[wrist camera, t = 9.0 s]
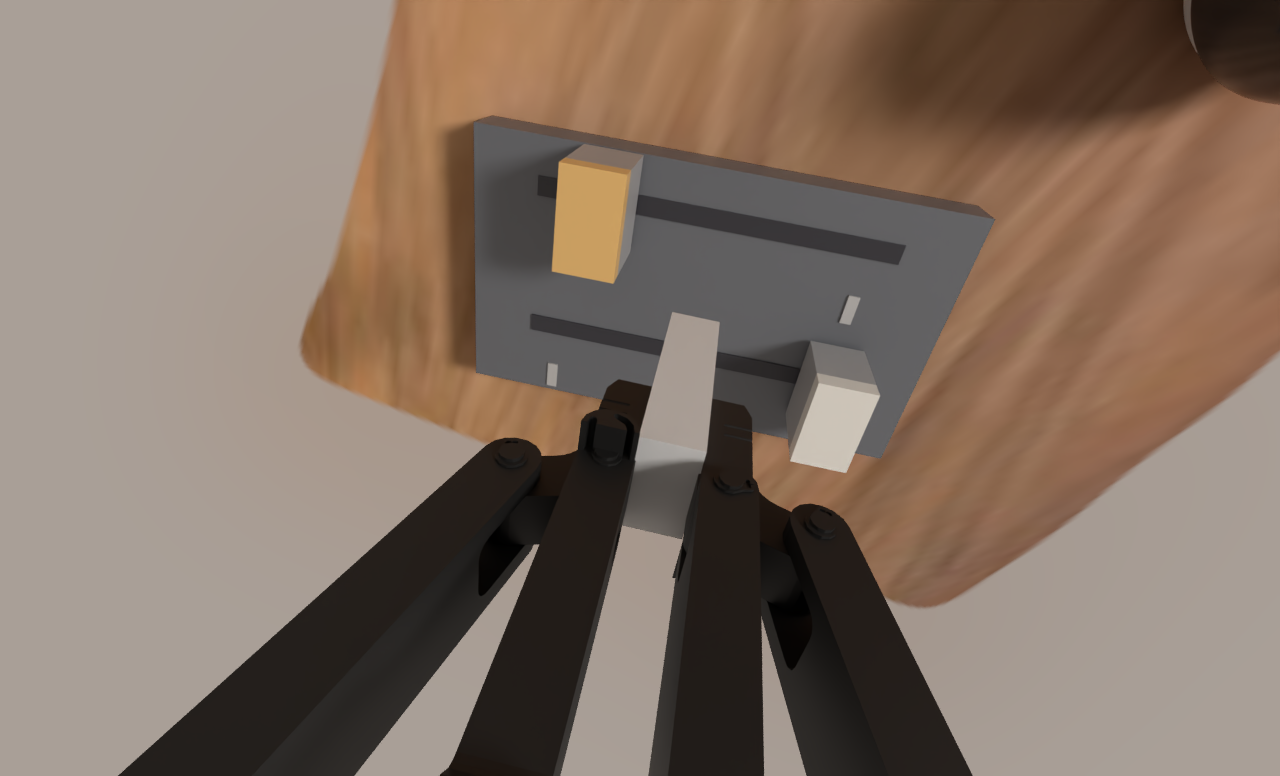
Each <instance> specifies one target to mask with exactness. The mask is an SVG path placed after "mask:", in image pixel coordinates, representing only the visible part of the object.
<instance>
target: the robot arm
mask: <svg viewBox="0 0 1280 776" xmlns="http://www.w3.org/2000/svg"><path fill="white" fill-rule="evenodd" d="M719 325H720V322H717V321H712V320H707V319H703V318H698V317H693V316H689V315H684V314H679V313H675V312H672V315H671V319H670V323H669V326H668V330H667V334H666V337H665V341H664V345H663V349H662V352H661V356H660V360H659V363H658V367H657V371H656V375H655V378H654V382H653V386H648V385H643V384H639V383H634V382H629V381H625V380H620V379H618V380H616V381H615V382H614V383H612V384H611V385H610V386H608V387H607V389H606V392H605V394H604V397H603V400H602V402H601V404H600V407H599V409H598V410H595V411H593V412H591V413H588V414H586V416H585V417H584V418H583V419H582V420H581V428H580V436H579V444H578V450H577V451H574V452H572V453H570V454H566V455H559V456H541V452H540V451H539V449H538V448H537V446H536V445H534V444H532V443H531V442H529V441H527V440H523V439H519V438H503V439H499V440H495V441H493V442H491V443H490V444H488V445H486V446H485V447H484V448H483V449H482V450H481V451H479V452H478V453H477V454H476V455H475V456H474V457H473V458H472V459H470V460H469V461H468V462H467V463H466V464H465V465H464V466H463V467H462V468H461V469H459V470H458V471H457V472H456V473H455V474H454V475H453V476H452V477H451V478H449V479H448V480H447V481H446V482H445V483H444V484H443V485H442V486H440V487H439V488H438V489H437V490H436V491H435V492H434V493H433V494H431V495H430V496H429V497H428V498H427V499H426V500H425V501H424V502H423V503H422V504H420V505H419V506H418V507H417V508H416V509H415V510H414V511H413V512H411V513H410V514H409V515H408V516H407V517H406V518H405V519H404V520H403V521H401V522H400V523H399V524H398V525H397V526H396V527H395V528H394V529H393V530H391V531H390V532H389V533H388V534H387V535H386V536H385V537H384V538H382V539H381V540H380V541H379V542H378V543H377V544H376V545H375V546H374V547H372V548H371V549H370V550H369V551H368V552H367V553H366V554H365V555H363V556H362V557H361V558H360V559H359V560H358V561H357V562H356V563H355V564H354V565H352V566H351V567H350V568H349V569H348V570H347V571H346V572H345V573H343V574H342V575H341V576H340V577H339V578H338V579H337V580H336V581H335V582H334V583H332V584H331V585H330V586H329V587H328V588H327V589H326V590H325V591H323V592H322V593H321V594H320V595H319V596H318V597H317V598H316V599H315V600H313V601H312V602H311V603H310V604H309V605H308V606H307V607H306V608H305V609H303V610H302V611H301V612H300V613H299V614H298V615H297V616H296V617H295V618H293V619H292V620H291V621H290V622H289V623H288V624H287V625H285V626H284V627H283V628H282V629H281V630H280V631H279V632H278V633H277V634H276V635H274V636H273V637H272V638H271V639H270V640H269V641H268V642H267V643H265V644H264V645H263V646H262V647H261V648H260V649H259V650H258V651H257V652H255V654H253V655H252V656H251V657H250V658H249V659H248V660H246V661H245V662H244V663H243V664H242V665H241V666H240V667H239V668H238V669H236V670H235V671H234V672H233V673H232V674H231V675H230V676H229V677H228V678H226V680H224V681H223V682H222V683H221V684H220V685H219V686H218V687H216V688H215V689H214V690H213V691H212V692H211V693H210V694H209V695H208V696H206V697H205V698H204V699H203V700H202V701H201V702H200V703H199V704H198V705H196V706H195V707H194V708H193V709H192V710H191V711H190V712H189V713H187V715H185V716H184V717H183V718H182V719H181V720H180V721H179V722H177V723H176V724H175V725H174V726H173V727H172V728H171V729H170V730H168V731H167V732H166V733H165V734H164V735H163V736H162V737H161V738H160V739H159V740H157V741H156V742H155V743H154V744H153V745H152V746H151V747H150V748H148V749H147V750H146V751H145V752H144V753H143V754H142V755H141V756H140V757H139V758H137V759H136V760H135V761H134V762H133V763H132V764H131V765H130V766H128V767H127V768H126V769H125V770H124V771H123V772H122V773H121V774H119V775H118V776H354V775H355V774H356V773H357V771H358V770H359V769H360V768H361V766H362V765H363V764H364V762H365V761H366V760H367V759H368V757H369V756H370V755H371V754H372V752H373V751H374V750H375V749H376V747H377V746H378V745H379V743H380V742H381V741H382V740H383V738H384V737H385V736H386V735H387V733H388V732H389V731H390V729H391V728H392V727H393V726H394V724H395V723H396V721H398V719H399V718H400V717H401V715H402V714H403V713H404V712H405V710H406V709H407V708H408V706H409V705H410V704H411V703H412V701H413V700H414V699H415V698H416V696H417V695H418V694H419V692H420V691H421V690H422V689H423V687H424V686H425V685H426V684H427V682H428V681H429V680H430V678H431V677H432V676H433V675H434V673H435V672H436V671H437V670H438V668H439V667H440V666H441V664H442V663H443V662H444V661H445V659H446V658H447V657H448V656H449V654H450V653H451V652H452V650H453V649H454V648H455V647H456V645H457V644H458V643H459V642H460V640H461V639H462V638H463V636H464V635H465V634H466V633H467V631H468V630H469V629H470V628H471V626H472V625H473V624H474V622H475V621H476V620H477V619H478V617H479V616H480V615H481V614H482V612H483V611H484V610H485V608H486V607H487V606H488V605H489V603H490V602H491V601H492V599H493V598H494V597H495V596H496V594H497V593H498V592H499V591H500V589H501V588H502V587H503V585H504V584H505V583H506V582H507V580H508V579H509V578H510V577H511V575H512V574H513V573H514V571H515V570H516V569H517V567H518V566H519V565H520V564H521V563H522V561H523V560H524V559H525V557H526V556H527V555H528V554H529V552H530V551H531V549H532V547H533V545H534V544H540V545H539V547H538V550H537V552H536V555H535V557H534V560H533V562H532V565H531V567H530V570H529V572H528V575H527V577H526V580H525V582H524V585H523V587H522V590H521V592H520V595H519V597H518V600H517V602H516V605H515V607H514V610H513V612H512V614H511V617H510V620H509V622H508V625H507V627H506V629H505V632H504V634H503V637H502V640H501V642H500V644H499V647H498V650H497V652H496V655H495V657H494V659H493V662H492V664H491V667H490V669H489V672H488V675H487V677H486V679H485V682H484V684H483V687H482V689H481V692H480V694H479V697H478V699H477V702H476V704H475V707H474V709H473V712H472V714H471V717H470V719H469V722H468V724H467V727H466V729H465V732H464V734H463V737H462V739H461V742H460V744H459V747H458V749H457V752H456V754H455V756H454V759H453V761H452V762H451V764H450V766H449V768H448V769H446V770H445V771H444V772H443V773H441V774H440V776H560V774H561V770H562V766H563V762H564V758H565V754H566V750H567V746H568V742H569V738H570V734H571V730H572V726H573V722H574V718H575V714H576V710H577V706H578V702H579V698H580V694H581V690H582V686H583V682H584V678H585V674H586V670H587V666H588V662H589V658H590V654H591V650H592V646H593V642H594V638H595V634H596V630H597V626H598V622H599V618H600V614H601V610H602V606H603V602H604V598H605V594H606V590H607V586H608V582H609V578H610V574H611V570H612V566H613V562H614V558H615V554H616V550H617V546H618V542H619V537H620V532H621V527H622V525H623V526H628V527H632V528H636V529H640V530H645V531H649V532H653V533H658V534H662V535H666V536H671V537H675V538H679V539H682V537H683V534H684V537H683V543H682V546H681V550H680V553H679V556H678V560H677V564H676V567H675V571H674V574H673V578H676V579H675V586H674V594H673V601H672V608H671V615H670V623H669V630H668V637H667V645H666V652H665V660H664V667H663V674H662V681H661V688H660V695H659V703H658V711H657V717H656V725H655V732H654V739H653V747H652V754H651V761H650V768H649V776H764V748H763V747H764V746H763V694H762V693H763V691H762V637H761V636H762V631H761V616H762V620H763V623H764V627H765V630H766V634H767V637H768V641H769V644H770V648H771V652H772V655H773V658H774V662H775V666H776V669H777V673H778V676H779V679H780V683H781V687H782V690H783V694H784V697H785V701H786V705H787V708H788V712H789V715H790V719H791V722H792V725H793V729H794V732H795V736H796V740H797V743H798V747H799V750H800V754H801V758H802V761H803V765H804V768H805V772H806V775H807V776H972V774H971V771H970V769H969V767H968V765H967V764H966V761H965V759H964V757H963V755H962V753H961V751H960V749H959V748H958V745H957V743H956V741H955V739H954V737H953V735H952V733H951V731H950V729H949V727H948V725H947V723H946V721H945V719H944V717H943V715H942V713H941V711H940V709H939V707H938V705H937V703H936V701H935V699H934V697H933V695H932V693H931V691H930V689H929V687H928V685H927V683H926V681H925V679H924V677H923V675H922V673H921V671H920V669H919V667H918V665H917V663H916V661H915V659H914V657H913V655H912V653H911V651H910V649H909V647H908V645H907V643H906V641H905V639H904V636H903V635H902V632H901V630H900V628H899V626H898V624H897V622H896V620H895V618H894V616H893V614H892V612H891V610H890V608H889V606H888V604H887V602H886V600H885V598H884V596H883V594H882V592H881V590H880V588H879V586H878V584H877V582H876V580H875V578H874V576H873V574H872V572H871V570H870V568H869V566H868V564H867V562H866V560H865V558H864V556H863V554H862V552H861V550H860V548H859V546H858V544H857V542H856V540H855V538H854V536H853V534H852V532H851V530H850V528H849V526H848V525H847V523H846V522H845V521H844V519H843V518H841V517H840V516H839V515H838V514H836V513H835V512H834V511H832V510H830V509H828V508H825V507H823V506H820V505H815V504H803V505H799V506H797V507H796V508H794V509H793V511H792V512H790V511H788V510H786V509H784V508H782V507H779V506H777V505H776V504H774V503H772V502H770V501H769V500H768V499H766V498H765V497H764V496H763V495H762V494H761V493H760V492H759V488H758V485H757V482H756V481H755V480H754V478H753V463H752V417H751V415H750V414H749V412H748V410H747V409H746V407H745V406H744V405H739V404H735V403H730V402H726V401H721V400H717V399H712V395H713V385H714V375H715V365H716V355H717V345H718V335H719Z"/></svg>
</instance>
